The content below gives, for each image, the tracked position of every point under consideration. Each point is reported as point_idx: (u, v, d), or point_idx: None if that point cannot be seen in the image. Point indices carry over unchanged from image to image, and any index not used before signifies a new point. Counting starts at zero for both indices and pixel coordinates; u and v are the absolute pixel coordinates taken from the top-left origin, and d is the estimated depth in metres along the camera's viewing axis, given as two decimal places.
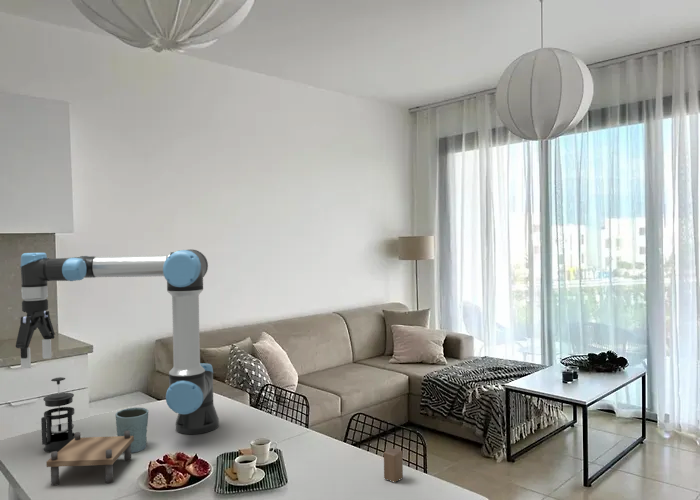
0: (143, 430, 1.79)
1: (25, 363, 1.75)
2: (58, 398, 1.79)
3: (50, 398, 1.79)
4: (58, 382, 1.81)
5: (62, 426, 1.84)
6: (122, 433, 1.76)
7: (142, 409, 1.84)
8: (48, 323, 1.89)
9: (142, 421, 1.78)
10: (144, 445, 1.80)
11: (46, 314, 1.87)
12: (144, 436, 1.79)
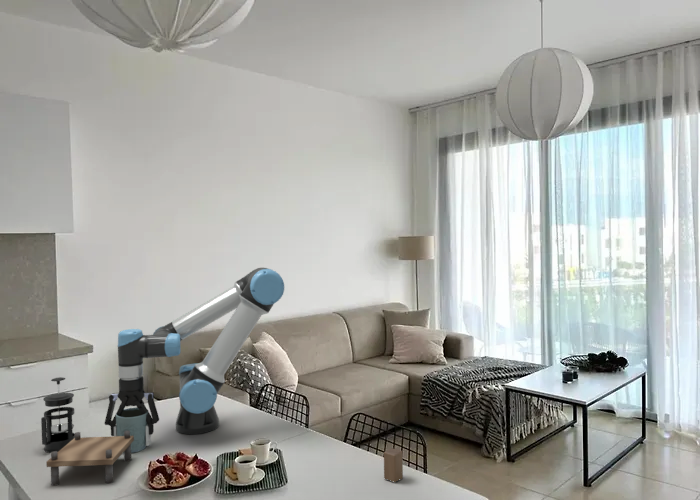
0: (143, 430, 1.79)
1: None
2: (58, 398, 1.79)
3: (50, 398, 1.79)
4: (58, 382, 1.81)
5: (62, 426, 1.84)
6: (122, 433, 1.76)
7: None
8: None
9: (142, 421, 1.78)
10: (144, 445, 1.80)
11: (147, 396, 1.79)
12: (144, 436, 1.79)
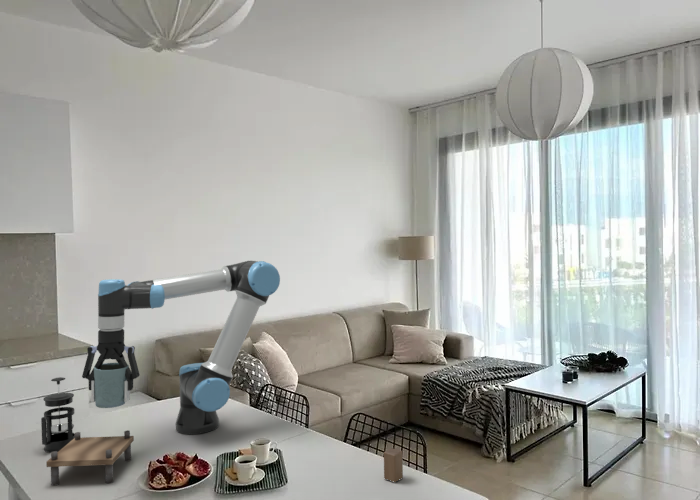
0: (122, 385, 1.70)
1: None
2: (58, 398, 1.79)
3: (50, 398, 1.79)
4: (58, 382, 1.81)
5: (62, 426, 1.84)
6: (99, 386, 1.67)
7: None
8: None
9: (121, 375, 1.69)
10: (123, 401, 1.71)
11: (128, 350, 1.71)
12: (123, 391, 1.71)
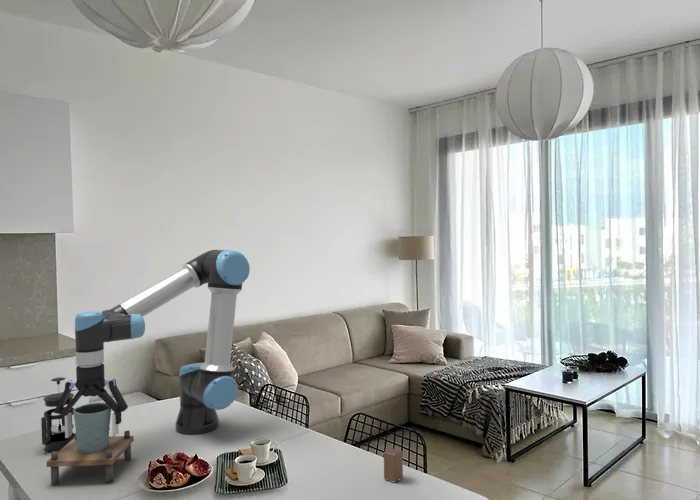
0: (104, 428, 1.61)
1: None
2: (58, 398, 1.79)
3: (50, 398, 1.79)
4: (58, 382, 1.81)
5: (62, 426, 1.84)
6: (81, 431, 1.59)
7: (105, 405, 1.67)
8: None
9: (103, 418, 1.60)
10: (106, 444, 1.62)
11: None
12: (106, 434, 1.62)
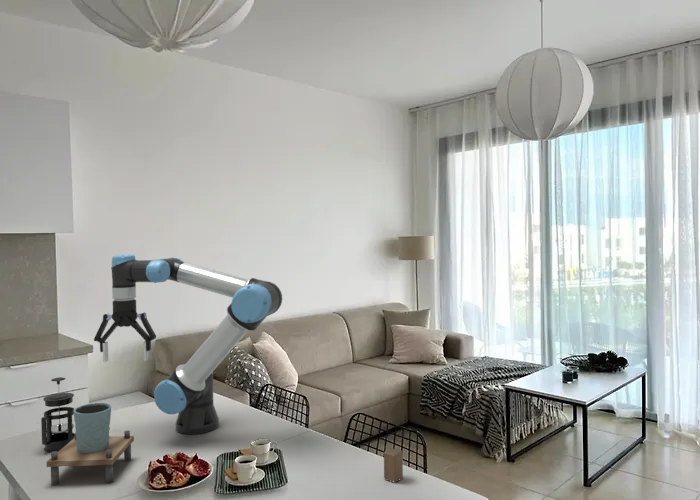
0: (104, 428, 1.61)
1: None
2: (58, 398, 1.79)
3: (50, 398, 1.79)
4: (58, 382, 1.81)
5: (62, 426, 1.84)
6: (81, 431, 1.59)
7: (105, 404, 1.67)
8: None
9: (103, 418, 1.60)
10: (106, 444, 1.62)
11: (140, 316, 1.88)
12: (106, 434, 1.62)
